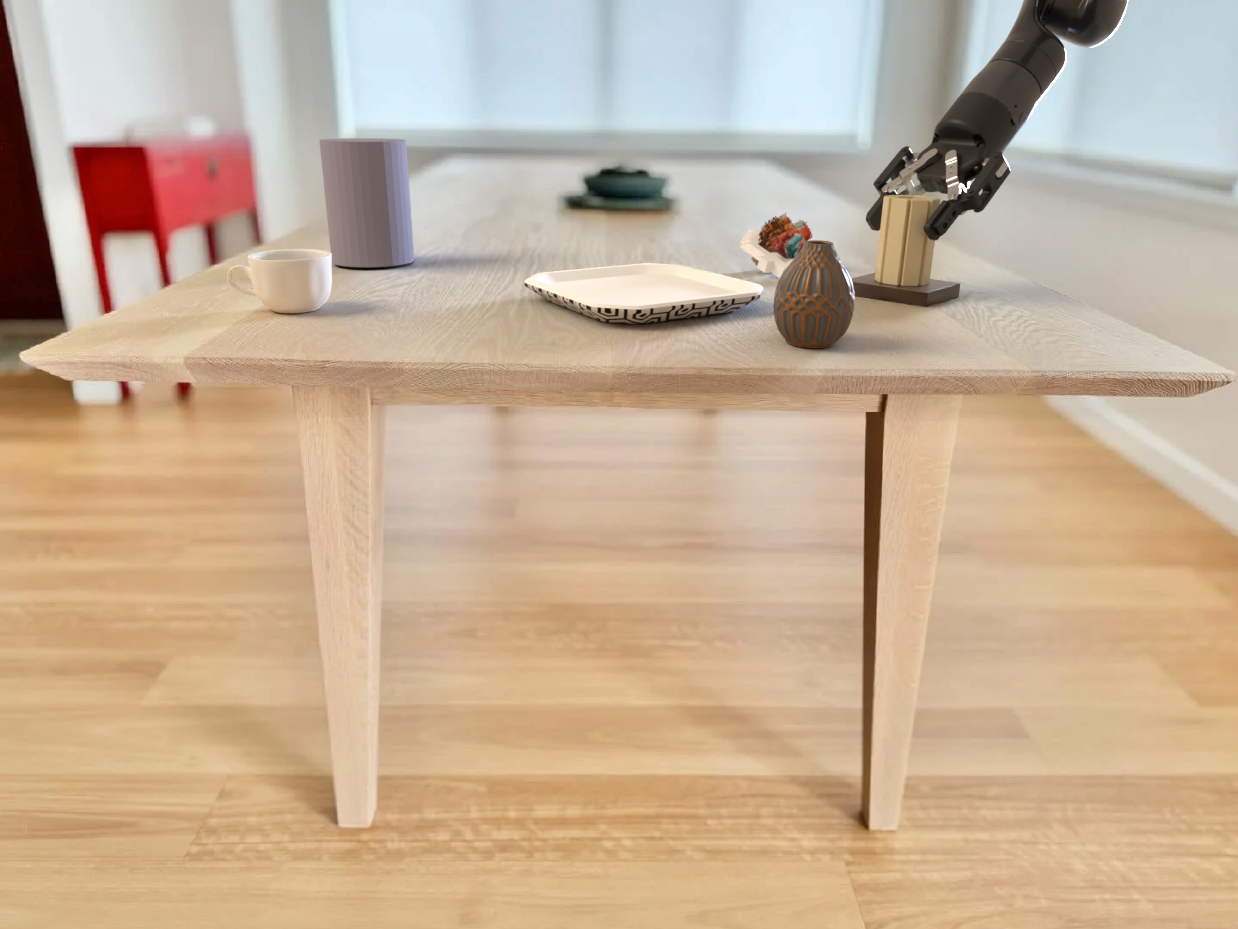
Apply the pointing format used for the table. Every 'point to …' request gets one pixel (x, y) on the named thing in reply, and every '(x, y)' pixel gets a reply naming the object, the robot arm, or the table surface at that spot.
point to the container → (367, 202)
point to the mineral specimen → (776, 244)
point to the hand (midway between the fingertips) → (899, 230)
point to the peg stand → (906, 291)
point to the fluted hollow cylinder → (905, 240)
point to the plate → (644, 292)
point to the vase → (814, 297)
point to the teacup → (288, 279)
